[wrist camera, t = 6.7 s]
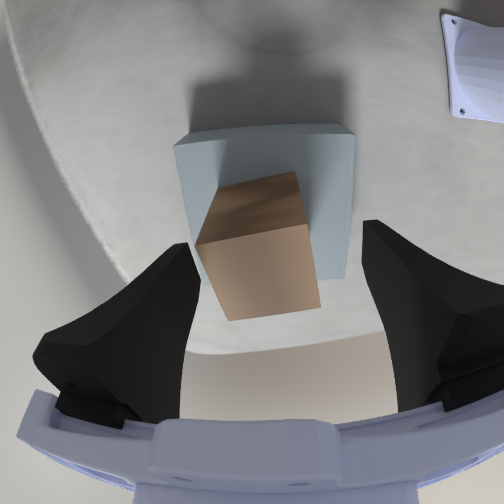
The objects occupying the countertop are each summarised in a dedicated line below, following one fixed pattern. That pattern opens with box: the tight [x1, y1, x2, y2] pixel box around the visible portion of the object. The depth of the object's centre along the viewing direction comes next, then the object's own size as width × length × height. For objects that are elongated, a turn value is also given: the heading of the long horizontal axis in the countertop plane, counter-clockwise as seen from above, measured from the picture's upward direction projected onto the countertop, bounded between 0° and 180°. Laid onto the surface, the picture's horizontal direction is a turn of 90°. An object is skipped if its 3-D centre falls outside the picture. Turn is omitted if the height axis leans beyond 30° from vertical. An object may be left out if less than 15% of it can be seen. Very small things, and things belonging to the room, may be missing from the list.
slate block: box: [173, 123, 355, 284], centre depth 19 cm, size 10×10×4 cm
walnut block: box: [195, 171, 321, 321], centre depth 15 cm, size 4×4×6 cm
